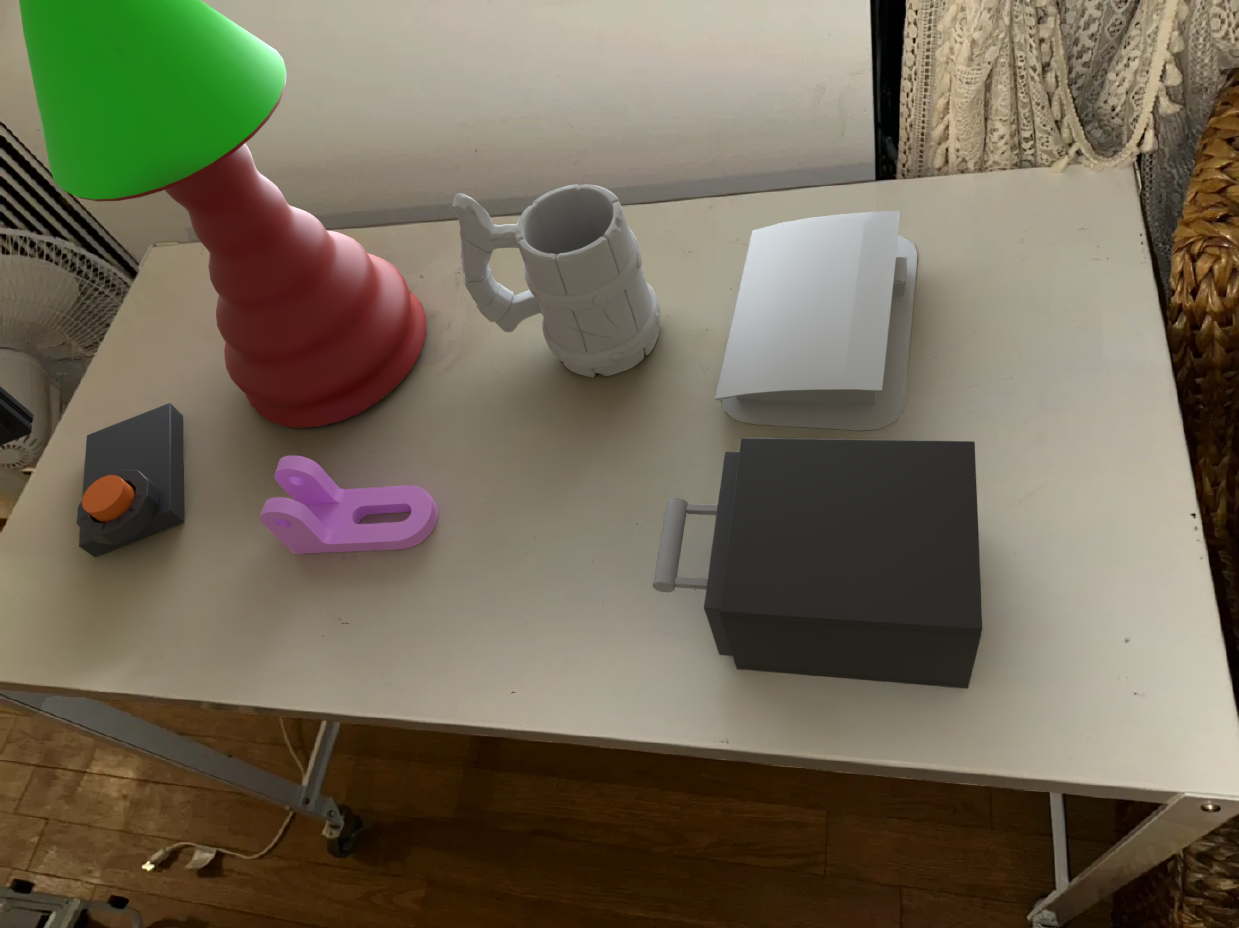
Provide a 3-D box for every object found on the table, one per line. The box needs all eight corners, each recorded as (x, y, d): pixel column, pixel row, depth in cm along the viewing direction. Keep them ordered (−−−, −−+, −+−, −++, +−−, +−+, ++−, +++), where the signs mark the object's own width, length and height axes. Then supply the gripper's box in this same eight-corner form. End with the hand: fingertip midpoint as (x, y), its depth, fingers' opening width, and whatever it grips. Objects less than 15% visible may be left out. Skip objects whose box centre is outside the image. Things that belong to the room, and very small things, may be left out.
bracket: (294, 553, 80) (251, 513, 75) (310, 500, 84) (270, 456, 78) (431, 547, 78) (397, 504, 72) (443, 492, 81) (412, 446, 75)
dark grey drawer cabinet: (736, 669, 66) (719, 612, 58) (754, 507, 73) (740, 437, 65) (968, 689, 61) (982, 630, 54) (962, 514, 69) (974, 440, 61)
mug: (657, 380, 83) (615, 233, 69) (481, 384, 87) (408, 247, 73) (671, 290, 89) (634, 138, 75) (506, 299, 93) (442, 157, 79)
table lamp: (352, 259, 102) (71, -201, 66) (467, 326, 92) (209, -174, 56) (213, 378, 96) (-181, -58, 60) (319, 464, 86) (-78, 1, 50)
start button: (135, 512, 82) (122, 502, 81) (93, 528, 82) (80, 519, 81) (136, 479, 85) (123, 468, 83) (95, 495, 85) (82, 484, 83)
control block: (184, 535, 84) (158, 512, 81) (93, 570, 84) (63, 549, 81) (183, 415, 94) (159, 391, 90) (101, 447, 94) (74, 424, 90)
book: (919, 234, 86) (921, 201, 83) (901, 433, 74) (903, 403, 71) (756, 234, 90) (752, 203, 87) (715, 421, 79) (708, 393, 75)
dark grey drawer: (659, 650, 67) (637, 603, 61) (682, 505, 73) (665, 449, 67) (932, 672, 62) (940, 624, 55) (931, 514, 68) (937, 455, 62)
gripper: (-204, 289, 46) (55, 492, 60) (-142, 136, 55) (70, 344, 69) (-347, 345, 45) (-52, 535, 60) (-260, 182, 55) (-23, 381, 69)
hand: (13, 432), depth 65 cm, fingers closed
